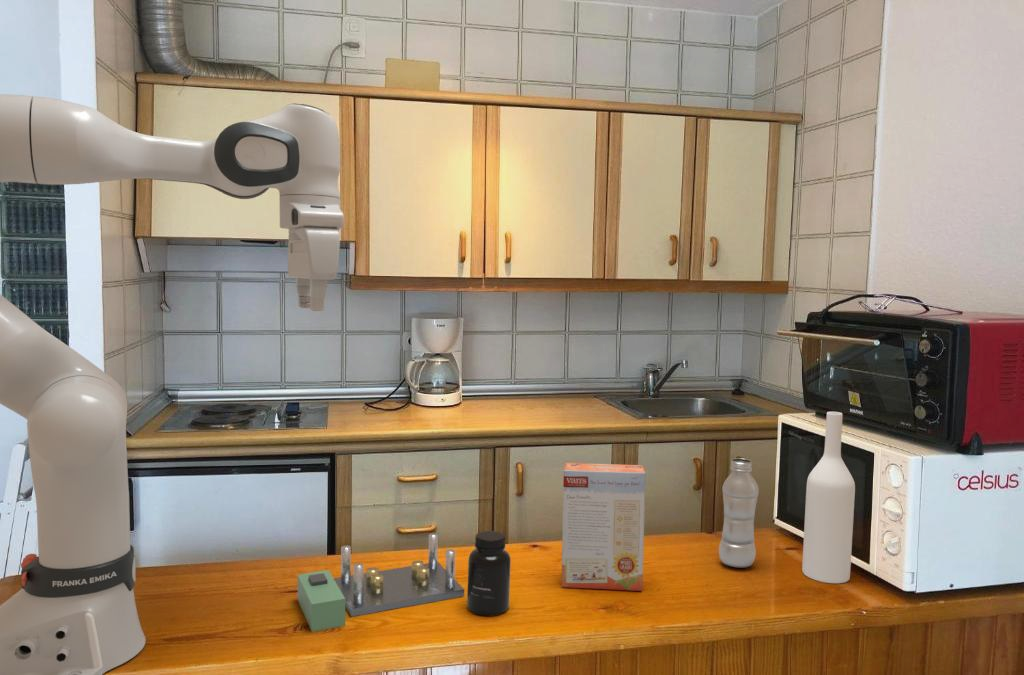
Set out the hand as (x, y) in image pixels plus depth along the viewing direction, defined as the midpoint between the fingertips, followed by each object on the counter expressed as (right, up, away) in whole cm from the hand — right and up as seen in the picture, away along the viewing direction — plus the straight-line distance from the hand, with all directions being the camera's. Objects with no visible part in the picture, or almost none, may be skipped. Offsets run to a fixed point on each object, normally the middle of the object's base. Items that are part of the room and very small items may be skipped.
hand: (310, 309), depth 114 cm
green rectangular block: (0, -48, +5) cm, 48 cm away
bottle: (+88, -48, +23) cm, 103 cm away
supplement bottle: (+27, -48, +7) cm, 56 cm away
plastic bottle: (+73, -47, +27) cm, 91 cm away
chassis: (+11, -47, +13) cm, 50 cm away
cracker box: (+46, -48, +18) cm, 69 cm away
